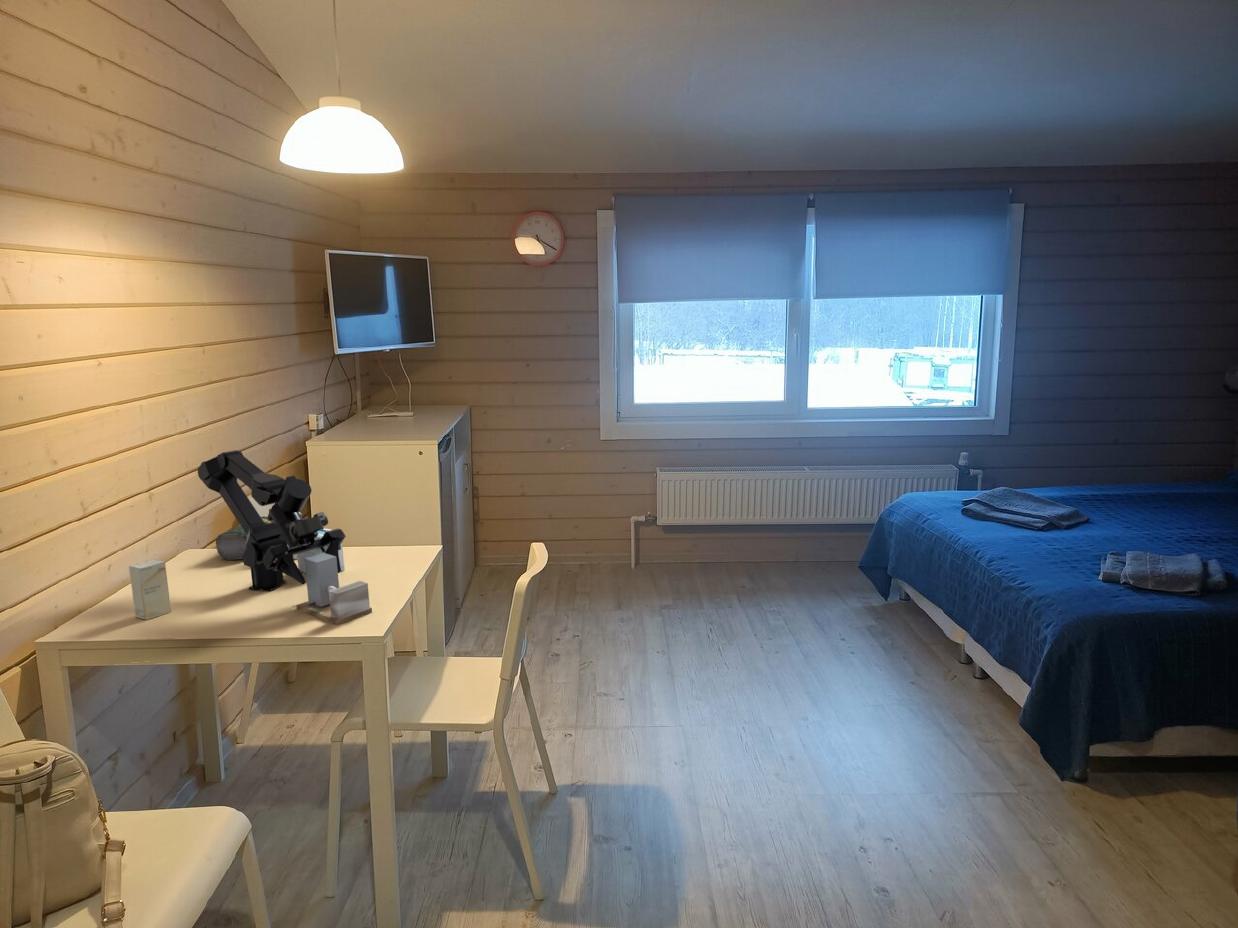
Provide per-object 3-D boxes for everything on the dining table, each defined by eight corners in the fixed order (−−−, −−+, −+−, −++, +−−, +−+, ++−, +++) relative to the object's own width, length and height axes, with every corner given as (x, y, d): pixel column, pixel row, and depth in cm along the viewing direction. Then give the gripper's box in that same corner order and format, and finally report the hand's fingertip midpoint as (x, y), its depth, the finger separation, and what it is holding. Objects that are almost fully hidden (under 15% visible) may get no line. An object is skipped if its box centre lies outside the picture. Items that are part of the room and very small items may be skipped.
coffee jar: (251, 559, 234) (283, 539, 252) (245, 531, 232) (278, 513, 250) (217, 562, 235) (252, 542, 253) (211, 534, 233) (246, 516, 251)
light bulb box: (345, 570, 225) (342, 530, 223) (324, 577, 219) (320, 537, 217) (318, 564, 231) (314, 525, 228) (297, 571, 225) (293, 531, 223)
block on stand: (296, 609, 198) (293, 580, 197) (330, 597, 205) (328, 569, 204) (337, 624, 189) (334, 594, 187) (372, 612, 196) (369, 582, 194)
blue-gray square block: (303, 603, 197) (298, 560, 195) (327, 595, 202) (323, 552, 200) (319, 610, 193) (315, 565, 191) (344, 601, 198) (340, 557, 196)
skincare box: (145, 620, 193) (138, 569, 191) (134, 617, 196) (127, 565, 193) (172, 611, 199) (165, 561, 196) (161, 608, 201) (154, 558, 198)
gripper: (263, 512, 190) (296, 569, 186) (337, 495, 205) (369, 547, 200) (248, 541, 197) (280, 596, 192) (321, 522, 211) (352, 573, 207)
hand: (322, 577), depth 198 cm, fingers open, 9 cm apart
